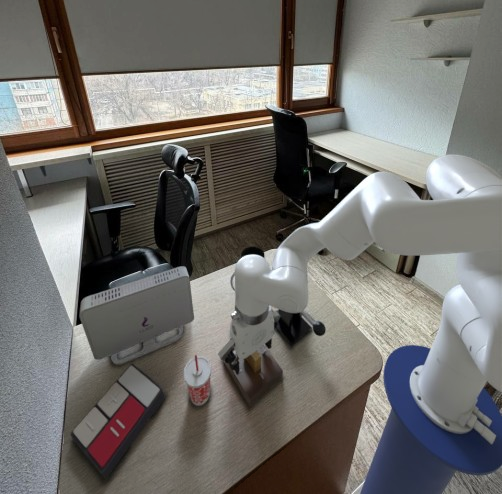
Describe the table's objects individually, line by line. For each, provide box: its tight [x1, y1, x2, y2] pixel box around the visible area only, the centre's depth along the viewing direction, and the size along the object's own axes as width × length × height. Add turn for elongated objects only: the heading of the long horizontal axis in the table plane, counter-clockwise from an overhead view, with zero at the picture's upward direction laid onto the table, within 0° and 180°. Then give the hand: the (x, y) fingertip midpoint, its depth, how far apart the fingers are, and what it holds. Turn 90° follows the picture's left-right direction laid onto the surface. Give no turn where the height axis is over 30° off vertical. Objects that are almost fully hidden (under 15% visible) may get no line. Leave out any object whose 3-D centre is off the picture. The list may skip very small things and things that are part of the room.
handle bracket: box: [275, 309, 313, 348], centre depth 77 cm, size 10×8×12 cm
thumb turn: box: [246, 350, 261, 373], centre depth 66 cm, size 5×2×5 cm, turn 36°
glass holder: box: [230, 246, 266, 292], centre depth 86 cm, size 9×14×15 cm, turn 139°
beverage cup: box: [183, 354, 212, 406], centre depth 61 cm, size 6×6×14 cm
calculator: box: [70, 363, 166, 479], centre depth 58 cm, size 11×4×15 cm
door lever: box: [300, 309, 326, 337], centre depth 72 cm, size 13×3×3 cm, turn 36°
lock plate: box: [222, 344, 284, 407], centre depth 68 cm, size 12×10×3 cm
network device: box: [79, 265, 195, 366], centre depth 72 cm, size 26×9×20 cm, turn 116°
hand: (250, 355), depth 66 cm, fingers open, 9 cm apart
